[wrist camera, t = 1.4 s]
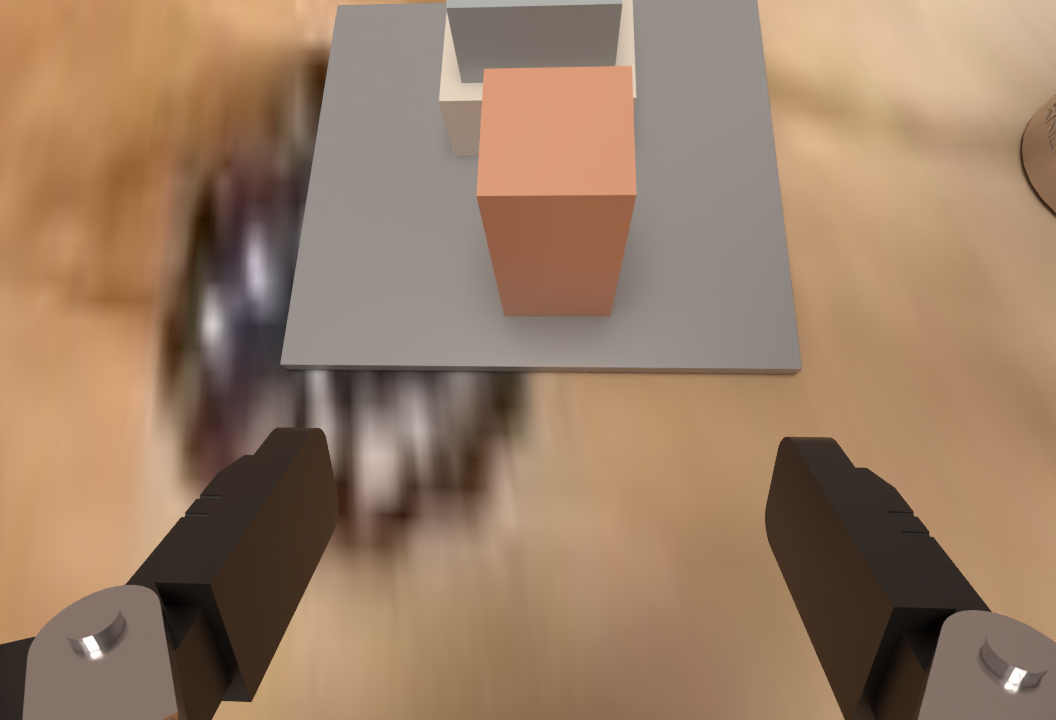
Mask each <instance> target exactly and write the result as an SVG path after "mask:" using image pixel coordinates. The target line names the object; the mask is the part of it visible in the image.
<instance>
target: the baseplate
mask: <svg viewBox="0 0 1056 720" xmlns="http://www.w3.org/2000/svg"><path fill="white" fill-rule="evenodd" d="M446 5H447V3H416V4H376V5H338V7H337V13H336V19H335V26H334V32H333V38H332V44H331V51H330V57H329V63H328V69H327V76H326V82H325V88H324V95H323V101H322V107H321V113H320V120H319V126H318V132H317V138H316V145H315V151H314V157H313V163H312V170H311V176H310V182H309V188H308V195H307V201H306V207H305V214H304V220H303V226H302V232H301V239H300V245H299V251H298V257H297V264H296V270H295V276H294V282H293V289H292V295H291V301H290V307H289V314H288V320H287V326H286V333H285V339H284V345H283V351H282V358H281V364H280V365H282V366H283V367H285V368H286V369H297V370H406V371H515V372H624V373H733V374H796V373H797V372H799V371H800V370H801V369H802V365H801V357H800V349H799V341H798V332H797V324H796V316H795V308H794V300H793V291H792V283H791V275H790V267H789V258H788V250H787V242H786V234H785V226H784V217H783V209H782V201H781V193H780V185H779V176H778V168H777V160H776V152H775V143H774V135H773V127H772V119H771V111H770V102H769V94H768V86H767V78H766V69H765V61H764V53H763V45H762V37H761V28H760V20H759V12H758V4H757V0H633V22H634V49H635V75H636V103H635V109H634V137H635V165H636V193H637V195H636V200H635V205H634V209H633V214H632V218H631V223H630V228H629V232H628V237H627V242H626V246H625V251H624V256H623V260H622V265H621V270H620V274H619V279H618V284H617V288H616V293H615V298H614V302H613V307H612V311H611V316H504V312H503V308H502V304H501V299H500V295H499V291H498V287H497V282H496V278H495V274H494V269H493V265H492V261H491V257H490V252H489V248H488V244H487V239H486V235H485V231H484V226H483V222H482V218H481V214H480V209H479V205H478V201H477V196H476V194H477V178H478V161H479V156H453V152H452V148H451V144H450V141H449V137H448V133H447V129H446V126H445V122H444V118H443V115H442V111H441V107H440V103H439V94H440V83H441V71H442V59H443V48H444V36H445V25H446V13H447V10H446Z"/></svg>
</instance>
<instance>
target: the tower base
mask: <svg viewBox="0 0 1056 720" xmlns="http://www.w3.org/2000/svg"><path fill="white" fill-rule="evenodd" d="M446 10H447V13H446V25H445V36H444V48H443V59H442V71H441V83H440V94H439V103H440V107H441V111H442V115H443V118H444V122H445V126H446V129H447V133H448V137H449V141H450V144H451V148H452V152H453V156H479V144H480V127H481V110H482V93H483V76H484V69H497V68H549V67H602V66H632V82H633V109H635V103H636V75H635V49H634V22H633V0H447V5H446Z"/></svg>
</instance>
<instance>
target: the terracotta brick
mask: <svg viewBox="0 0 1056 720" xmlns="http://www.w3.org/2000/svg"><path fill="white" fill-rule="evenodd" d="M636 195H637V193H636V165H635V137H634V109H633V82H632V66H602V67H549V68H497V69H484V76H483V93H482V110H481V127H480V144H479V161H478V178H477V194H476V196H477V201H478V205H479V209H480V214H481V218H482V222H483V226H484V231H485V235H486V239H487V244H488V248H489V252H490V257H491V261H492V265H493V269H494V274H495V278H496V282H497V287H498V291H499V295H500V299H501V304H502V308H503V312H504V316H611V311H612V307H613V302H614V298H615V293H616V288H617V284H618V279H619V274H620V270H621V265H622V260H623V256H624V251H625V246H626V242H627V237H628V232H629V228H630V223H631V218H632V214H633V209H634V205H635V200H636Z"/></svg>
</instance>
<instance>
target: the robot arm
mask: <svg viewBox="0 0 1056 720" xmlns="http://www.w3.org/2000/svg"><path fill="white" fill-rule="evenodd" d="M1022 155H1023V162H1024V167H1025V169H1026V172H1027V174H1028V177H1029V179H1030V182H1031V183H1032V185H1033V186H1034V188H1035V189H1036V191H1037V192H1038V194H1039V195H1040V197H1041V198H1042V199H1043V200H1044V201H1045V202H1046V203H1047V204H1048V205H1049V206H1050V207H1051V208H1052V209H1053V210H1054V212H1055V213H1056V95H1055V96H1054V97H1053V98H1051V99H1050V100H1049V101H1048V102H1047V103H1046V104H1045V105H1044V106H1043V107H1042V108H1041V109H1040V110H1039V111H1038V112H1037V113H1036V114H1035V115H1034V117H1033V118H1032V119H1031V120H1030V122H1029V124H1028V126H1027V129H1026V131H1025V133H1024V137H1023V144H1022ZM913 513H914V512H913V510H912V509H911V508H910V507H909V505H908V504H907V503H906V501H905V500H904V499H903V498H902V496H901V495H900V494H899V492H898V491H897V490H896V489H895V488H894V487H893V486H891V485H890V484H889V483H887V482H886V481H884V480H883V479H882V478H880V477H879V476H877V475H876V474H875V473H873V472H872V471H870V470H869V469H868V468H855V467H854V465H853V464H852V462H851V461H850V460H849V458H848V457H847V455H846V454H845V453H844V451H843V450H842V449H841V447H840V446H839V444H838V443H837V442H836V441H835V440H834V439H833V438H826V437H785V438H783V439H782V441H781V442H780V445H779V448H778V452H777V457H776V462H775V466H774V471H773V476H772V481H771V485H770V490H769V495H768V500H767V504H766V511H765V525H766V533H767V537H768V541H769V544H770V547H771V549H772V551H773V554H774V556H775V558H776V561H777V563H778V565H779V568H780V570H781V572H782V574H783V577H784V579H785V581H786V584H787V586H788V588H789V591H790V593H791V595H792V598H793V600H794V602H795V605H796V607H797V609H798V612H799V614H800V616H801V619H802V621H803V623H804V626H805V628H806V630H807V633H808V635H809V637H810V640H811V642H812V644H813V647H814V649H815V651H816V654H817V656H818V658H819V660H820V663H821V665H822V667H823V670H824V672H825V674H826V677H827V679H828V681H829V684H830V686H831V688H832V691H833V693H834V695H835V698H836V700H837V702H838V705H839V707H840V709H841V712H842V714H843V716H844V719H845V720H1056V643H1055V642H1053V641H1052V640H1050V639H1049V638H1048V637H1046V636H1045V635H1043V634H1042V633H1040V632H1038V631H1037V630H1035V629H1033V628H1031V627H1030V626H1028V625H1026V624H1023V623H1021V622H1019V621H1017V620H1014V619H1012V618H1009V617H1007V616H1003V615H1000V614H996V613H992V612H991V610H990V609H989V608H988V607H987V605H986V604H985V603H984V601H983V600H982V599H981V598H980V596H979V595H978V594H977V592H976V591H975V590H974V589H973V587H972V586H971V585H970V583H969V582H968V581H967V580H966V578H965V577H964V576H963V574H962V573H961V572H960V571H959V569H958V568H957V567H956V566H955V564H954V563H953V562H952V560H951V559H950V558H949V557H948V555H947V554H946V553H945V551H944V550H943V549H942V548H941V546H940V545H939V544H938V542H937V541H936V540H935V539H934V537H930V536H929V531H928V530H927V528H926V527H925V526H924V524H923V523H922V522H921V521H920V519H919V518H918V517H914V514H913ZM337 516H338V495H337V490H336V485H335V480H334V475H333V470H332V465H331V460H330V455H329V450H328V445H327V440H326V436H325V434H324V432H323V431H322V430H321V429H320V428H276V429H274V430H273V431H272V432H271V433H270V435H269V436H268V437H267V439H266V440H265V441H264V442H263V444H262V445H261V446H260V448H259V449H258V450H257V451H256V453H255V454H254V455H244V456H243V457H241V458H240V459H238V460H237V461H235V462H234V463H232V464H231V465H229V466H228V467H226V468H225V469H223V470H222V471H220V472H219V473H218V474H217V475H216V476H215V477H214V479H213V480H212V481H211V482H210V483H209V485H208V486H207V487H206V488H205V489H204V491H203V492H202V493H201V494H200V499H196V500H195V501H194V503H193V504H192V505H191V506H190V507H189V509H188V510H187V511H186V512H185V517H181V518H180V520H179V521H178V522H177V523H176V524H175V526H174V527H173V528H172V529H171V530H170V532H169V533H168V534H167V535H166V536H165V538H164V539H163V540H162V541H161V542H160V544H159V545H158V546H157V547H156V548H155V550H154V551H153V552H152V553H151V554H150V556H149V557H148V558H147V559H146V560H145V562H144V563H143V564H142V565H141V567H140V568H139V569H138V570H137V571H136V573H135V574H134V575H133V576H132V577H131V579H130V580H129V581H128V582H127V583H126V585H123V586H115V587H111V588H107V589H104V590H101V591H98V592H95V593H93V594H90V595H88V596H86V597H84V598H82V599H80V600H78V601H76V602H74V603H73V604H71V605H70V606H68V607H67V608H65V609H63V610H62V611H61V612H60V613H58V614H57V615H56V616H54V617H53V618H52V619H51V620H50V621H49V622H48V623H47V624H46V625H45V626H44V627H43V628H42V629H41V630H40V632H39V633H38V634H37V636H36V637H32V638H27V639H23V640H18V641H14V642H10V643H5V644H1V645H0V720H212V718H213V716H214V714H215V712H216V710H217V709H218V707H219V705H220V703H221V701H239V702H252V700H253V698H254V696H255V694H256V692H257V689H258V687H259V685H260V683H261V681H262V679H263V677H264V675H265V673H266V671H267V669H268V667H269V665H270V662H271V660H272V658H273V656H274V654H275V652H276V650H277V648H278V646H279V644H280V642H281V640H282V638H283V636H284V633H285V631H286V629H287V627H288V625H289V623H290V621H291V619H292V617H293V615H294V613H295V611H296V609H297V606H298V604H299V602H300V600H301V598H302V596H303V594H304V592H305V590H306V588H307V586H308V584H309V582H310V580H311V577H312V575H313V573H314V571H315V569H316V567H317V565H318V563H319V561H320V559H321V557H322V555H323V553H324V550H325V548H326V546H327V544H328V542H329V540H330V538H331V536H332V534H333V532H334V529H335V526H336V522H337Z"/></svg>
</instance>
